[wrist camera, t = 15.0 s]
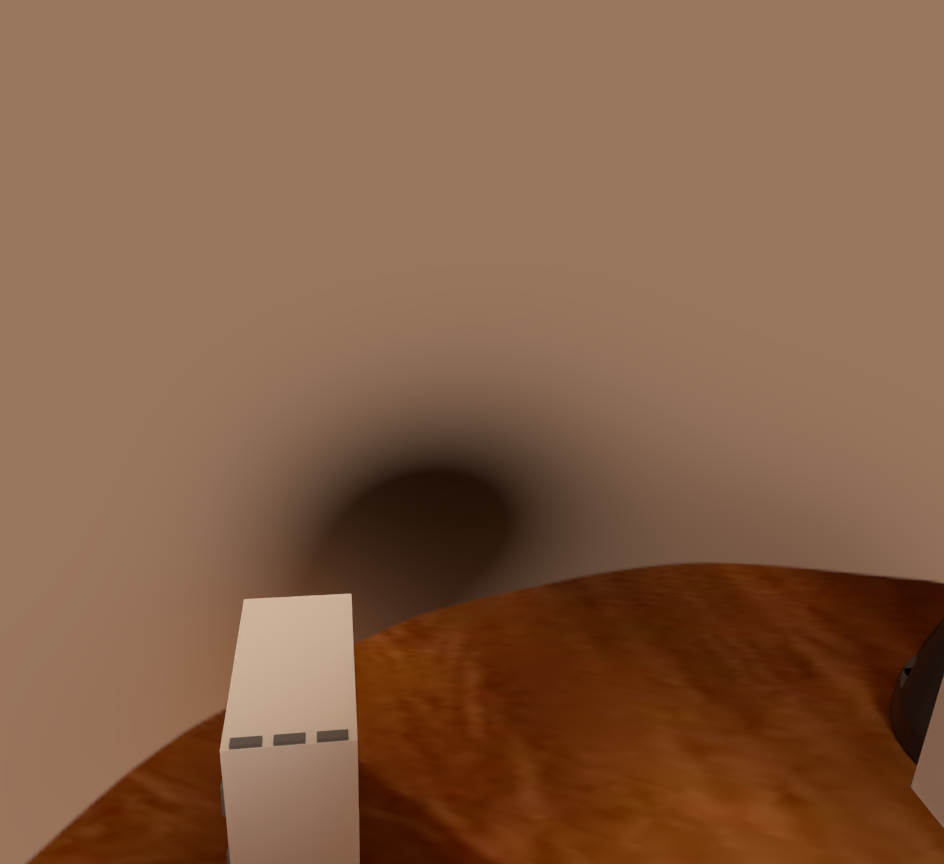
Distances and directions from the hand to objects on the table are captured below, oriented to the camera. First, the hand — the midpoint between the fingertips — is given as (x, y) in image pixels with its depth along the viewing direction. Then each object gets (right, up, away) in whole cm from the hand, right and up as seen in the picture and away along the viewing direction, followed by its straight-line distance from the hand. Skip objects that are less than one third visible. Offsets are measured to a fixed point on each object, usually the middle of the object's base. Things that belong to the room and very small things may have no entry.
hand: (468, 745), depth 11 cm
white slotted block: (-9, -19, +38) cm, 43 cm away
